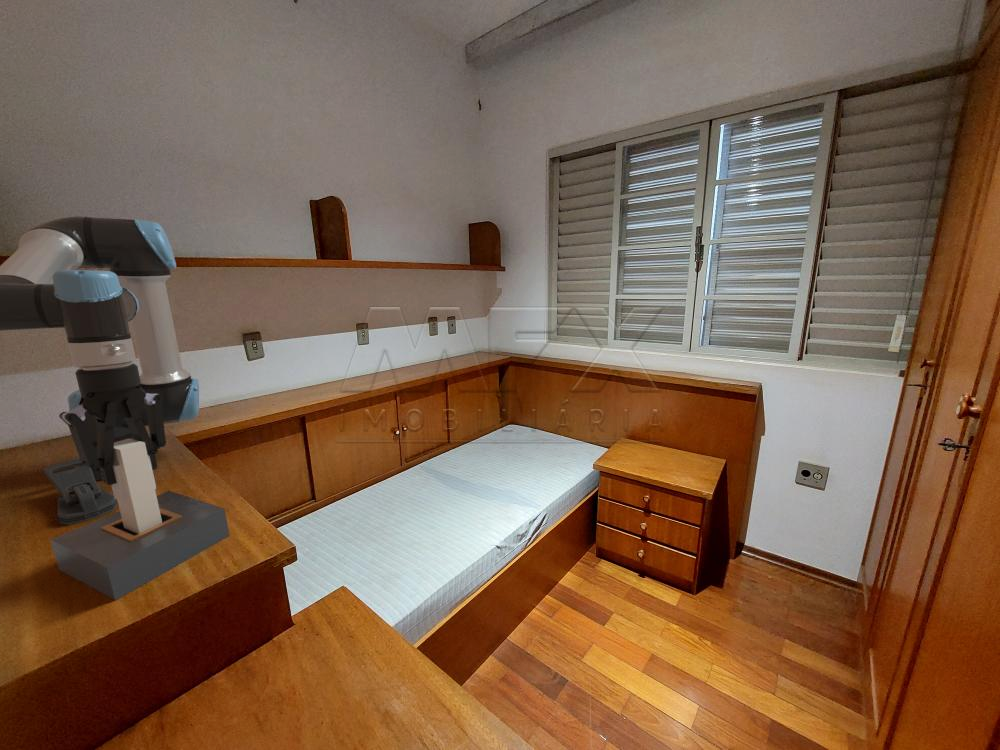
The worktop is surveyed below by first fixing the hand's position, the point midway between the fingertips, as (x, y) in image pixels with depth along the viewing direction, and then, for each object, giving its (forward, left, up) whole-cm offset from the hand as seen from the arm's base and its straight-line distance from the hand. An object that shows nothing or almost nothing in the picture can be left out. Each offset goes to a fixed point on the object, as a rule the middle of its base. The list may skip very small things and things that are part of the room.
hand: (135, 493), depth 72 cm
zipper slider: (-36, +5, -12) cm, 39 cm away
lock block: (0, 0, -12) cm, 12 cm away
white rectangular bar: (0, 0, -7) cm, 7 cm away
